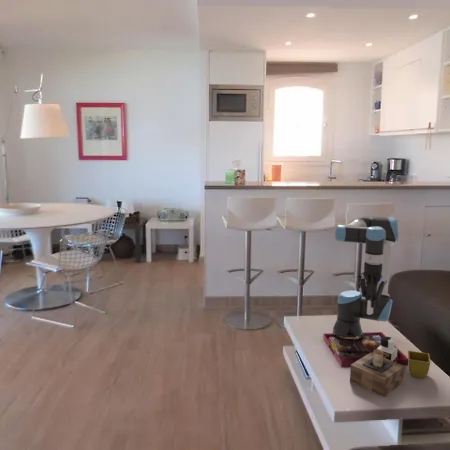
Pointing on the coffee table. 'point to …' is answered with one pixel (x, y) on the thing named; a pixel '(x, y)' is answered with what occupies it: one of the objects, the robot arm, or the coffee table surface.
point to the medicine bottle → (388, 348)
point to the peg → (378, 358)
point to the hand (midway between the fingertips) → (369, 313)
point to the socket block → (377, 375)
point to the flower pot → (418, 363)
